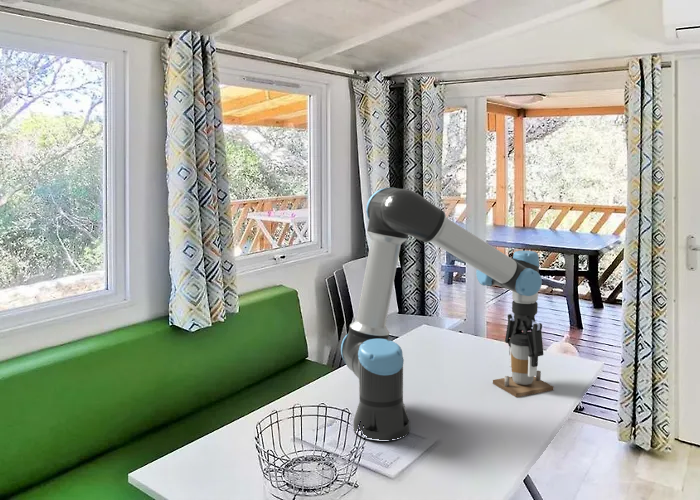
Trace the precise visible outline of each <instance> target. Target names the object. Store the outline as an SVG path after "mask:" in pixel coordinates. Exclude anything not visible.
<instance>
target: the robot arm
mask: <svg viewBox="0 0 700 500" xmlns="http://www.w3.org/2000/svg"><path fill="white" fill-rule="evenodd" d="M366 215H367V218H368V224H367V231H366V233H367V235H368V237H369V238H370V244H369V249H368V254H367V255H368V256H367V260H366V263H365V270H364V276H363V282H362V286H361V287H362V288H361V292H360V293H361V294H360V299H359V302H358V303H359V304H358V308H357V313H356V319H355V321H353V322H352V323H350V324H349V328H348V333H347V334H346V335H345V336H344V337H343V339H342V341H341V345H340V354H341V358H342V359H343V362H344V364H345V365H346V366H347V368H348V369H349V370H350V371H351V372H353V374H354V376H356V377H357V379H358V383H359V386H358V388H359V393H358V394H359V403H358V406H357V407H356V411H355V414H354V417H353V422H352V423H353V424H352V426H353V428H354V429H353V431H355V432H356V431H357V429H358V425H359V423H360V420H361V423H360V429H359V431H361V430H362V429H363V434H364V435H366V436H367V438H372V439H379V440H392V439H397V438H400V437H403V436H405V435H406V434H407V435H408V434H409V433H410V430H411V428H410V427H411V426H410V425H411V422H410V417H409V415H408V413H407V410H406V406H405V404H404V361H405V360H404V356H403V355H404V354H403V349H402V347H401V346H400V345H399V344H398V343H397V342H395V341H393V340H389V339H390V330H389V329H388V328H387V326H386V325H387V319H388V313H389V309H390V308H389V307H390V303H391V298H392V293H393V287H394V283H395V278H396V277H395V276H396V272H397V267H398V266H397V265H398V261H399V256H400V251H401V247H402V246H401V245H402V244H403V243H405V242H406V241H407V240H408V239H409V236H410V237H413V238H416V239H418V240H419V241H422V242H423V243H426V244H427V243H432V244H434V245H435V246H437V247H439V248H440V249H442V250H444V251H445V252H447V253H449V254H450V255H452V256H453V257H455V258H457V259H458V260H461V261H463V263H466V264H468V265H469V266H471V267H472V268H474V269H476V274H475V275H476V279H477V282H478V283H479V284H480V285H482V286H485V287H486V286H489V287H491V286H498V287H500V288H503V289H506V290H509V291H512V292H511V293H512V294H511V295H512V296H511V297H512V302H511V304H512V305H511V307H512V308H511V312H512V313H508V314H507V326H506V333H505V339H504V342H505V343H506V344H508V346H509V351H508V352H509V367H510V368H511V342H510V340H511V339H510V338H511V337H512V334H513V333H515V334H519V333H522V332H524V335H526V338H527V339H528V342H529V346H528V347H529V351H530V355H528V376H529V377H532V376H534V377H536V376H537V371H538V365H539V357H541V356H544V346H543V345H544V343H543V336H542V330H543V324H542V323H541V322H537V321H536V319H535V317H536V315H537V314H538V305H539V304H538V299H539V294H538V293H539V291H540V290H541V287H542V284H543V281H542V276H541V275H540V273H539V271H540V259H539V258H540V257H539V254H538V252H536V251H533V250H516V251H514V253H513V256H512V258H511V257H510V256H509V255H507V254H505V253H503V252H502V251H501V250H499V249H497V248H495V246H492V245H491V244H489V243H487V242H486V241H485V240H482V239H481V238H479V237H478V236H476V235H475V234H473V233H472V232H470V231H468V230H467V229H465V228H464V227H463V226H460V225H459V224H457V223H456V222H454V221H452V220H451V219H450V218H448V217H447V214H446V212H445V211H444V210H442V209H441V208H439V207H438V206H436V205H434V204H433V203H432V202H431V201H429V200H428V199H427V198H424V197H423V196H422V195H420V194H419V193H417V192H415V191H413V190H410V189H405V188H398V187H397V188H396V187H384V188H380V189H378V190H376V191H375V192H374V193H373V194H372V195H370V197H369V199H368V201H367V202H366ZM363 425H364V428H363ZM355 432H354V433H355ZM408 432H409V433H408ZM407 435H406V436H407ZM406 436H405V437H406ZM403 438H404V437H403Z"/></svg>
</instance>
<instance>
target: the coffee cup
mask: <svg viewBox="0 0 700 500" xmlns="http://www.w3.org/2000/svg"><path fill="white" fill-rule="evenodd" d="M509 339H511V340H510V342H511V367H510V368H511V377H512V379H513V381H514V382H515V383H518V384H523V385H527V384H531V383H532V381H533V378H534V377H535V376H532V377H529V376H528V355H530V351H529V347H528V346H529V342H528V339H527V338H526V335H524V332H523V331H522V333H519V334H515V333H513V334H512V337H511V338H509Z"/></svg>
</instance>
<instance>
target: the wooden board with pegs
mask: <svg viewBox="0 0 700 500" xmlns="http://www.w3.org/2000/svg"><path fill="white" fill-rule="evenodd" d="M541 375H542V373H541V370H537V376H534V378H533V381H532V383H531V384H527V385H523V384H518V383H515V382H514V381H513V379H512V376H509V375H505V376H504V377H502V378H496V379H492V384H493V385H495V386H496V387H498V388H499V389H501V390H503V391H504V392H506V393H508V394H509V395H512V396H513V397H515V398H520V397H524V396H526V397H527V396H530V395H535V394H536V395H537V394H541V393H545V392H546V393H547V392H550V391H554V388H555V387H554V385H551V384H549V383H548V382H546V381H544V380H542V379H541V377H542V376H541Z"/></svg>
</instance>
